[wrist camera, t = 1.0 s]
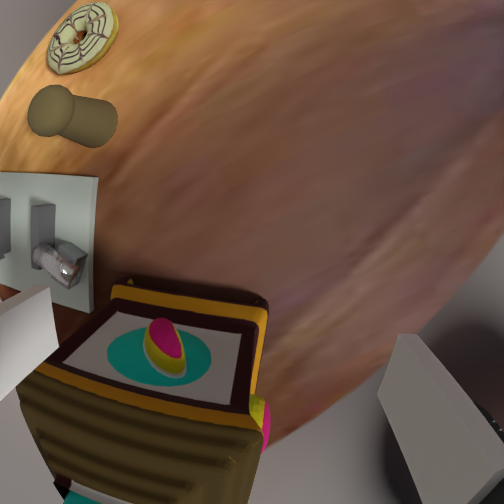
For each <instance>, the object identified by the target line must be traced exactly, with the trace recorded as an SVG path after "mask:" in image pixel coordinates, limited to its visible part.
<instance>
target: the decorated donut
mask: <svg viewBox="0 0 504 504" xmlns="http://www.w3.org/2000/svg"><path fill="white" fill-rule="evenodd" d="M118 28H119V23H118V17H117V15H116V12H115V11H114V10H113V9H112V8H111V7H110V6H108V5H107V4H106V3H103V2H94V3H90V4H86V5H82V6H80V7H79V8H78V9H76V10H75V11H74V12H72V13H71V14H70V15H68V16H67V18H66V19H65V20H64V21H63V22H62V23H61V24H60V26H59V27H58V28H57V30H56V32H55V33H54V35H53V37H52V39H51V42H50V44H49V48H48V56H47V58H48V63H49V66H50V67H51V68H52V69H53V70H54V71H56V72H57V73H58V74H63V73H64V74H70V73H75V72H79V71H82V70H84V69H87V68H89V67H91V66H93V65H94V64H96V63H97V62H99V61H100V60H101V58H102V57H104V56H105V54H106V53H107V52H108V51H109V49H110V48H111V46H112V44H113V43H114V41H115V39H116V37H117V34H118ZM85 33H87V34H86V36H85V38H84V39H83V40H82V41H80V42H79V43H78V41H79V40H80V38H81V37H82V36H83V35H84V34H85Z"/></svg>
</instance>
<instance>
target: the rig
mask: <svg viewBox="0 0 504 504" xmlns="http://www.w3.org/2000/svg"><path fill="white" fill-rule="evenodd" d="M98 178H99V177H87V176H74V175H58V174H40V173H18V172H0V255H3V254H4V256H5V258H4V259H2V260H0V283H1V284H3V285H6V286H9V287H11V288H14V289H17V290H19V291H24V290H26V289H27V288H29V287H31V286H33V285H35V284H40V285H44V286H48V287H50V294H51V302H54V303H57V304H60V305H63V306H67V307H70V308H73V309H76V310H80V311H83V312H86V313H91V312H92V311H93V310H94V299H93V246H94V224H95V209H96V197H97V187H98ZM42 242H45V243H47V244H48V245H49V246H51V247H52V248H54V249H55V250H56V251H58V247H59V246H61V245H64V244H67V243H70V242H72V243H73V244H74V245H76V246H77V247H79V248H80V249H82V250H83V251H85V252H86V253H88V257H87V260H86V263H85V266H84V269H83V272H82V276H81V279H80V282H79V284H78V285H76V286H74V287H73V288H71V289H69V290H67V289H66V288H64V287H63V286H62V285H60V284H59V283H58V282H56V281H55V280H54V279H52V278H51V275H50V274H49V273H48V272H46V271H45V270H44V269H43V268H41V267H40V266H39V265H37V264H36V263H35V262H34V261H33V253H34V251H35V249H36V247H37V246H38V245H39V244H40V243H42Z"/></svg>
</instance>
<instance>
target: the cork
mask: <svg viewBox="0 0 504 504" xmlns="http://www.w3.org/2000/svg"><path fill="white" fill-rule="evenodd" d="M27 119H28V123H29V126H30V128H31V129H32V131H33V132H35V133H36V134H38V135H39V136H44V137H51V136H54V135H57V134H58V135H61V136H63V137H65V138H68V139H70V140H72V141H74V142H77V143H79V144H81V145H84V146H86V147H89V148H97V147H101V146H102V145H104V144H105V143H107V142H108V141H109V139H110V138H111V137H112V136H113V134H114V132H115V130H116V126H117V123H118V115H117V112H116V109H115V107H114V106H113V105H112V104H111V103H109V102H107V101H104V100H99V99H93V98H88V97H82V96H76V95H72V93H71V92H70V91H69V90H68V89H67V88H65V87H63V86H61V85H49V86H47V87H45V88H43V89H41V90H40V91H39V92H38V93H37V94H36V95H35V96H34V98H33V99H32V101H31V103H30V106H29V109H28V118H27Z"/></svg>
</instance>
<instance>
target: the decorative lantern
mask: <svg viewBox="0 0 504 504" xmlns="http://www.w3.org/2000/svg"><path fill="white" fill-rule="evenodd" d="M268 315H269V306H268V302H267V301H266V299H263V298H259V299H258V300H257V301H256V303H244V302H236V301H229V300H223V299H216V298H209V297H203V296H196V295H190V294H184V293H178V292H172V291H166V290H160V289H154V288H149V287H143V286H138V285H133V281H132V279H131V278H129V277H124V278H121V279H120V280H118V281H117V282H115V284H114V285H113V288H112V292H111V299H110V303H109V304H108V305H107V306H106V307H105V308H104V309H102V310H101V311H100V312H99V313H98V314H96V315H95V316H94V317H93V318H91V319H90V320H89V321H88V322H87V323H85V324H84V325H83V326H82V327H81V328H79V329H78V330H77V331H76V332H75V333H73V334H72V335H71V336H70V337H69V338H68V339H66V340H65V341H64V342H63V343H62V344H61V345H59V348H57V349H56V350H55V351H54V352H53V353H52V354H51V355H50V356H48V357H47V358H46V359H45V360H44V361H43V362H42V363H41V364H39V365H38V366H37V367H36V368H35V369H34V370H33V371H32V372H31V373H30V374H28V375H27V376H26V377H25V378H24V379H23V380H22V381H21V382H20V383H19V384H18V385H17V386H16V391H17V393H18V396H19V399H20V407H21V411H22V413H23V416H24V418H25V421H26V423H27V425H28V428H29V430H30V432H31V434H32V437H33V439H34V441H35V443H36V445H37V447H38V449H39V451H40V453H41V455H42V457H43V459H44V461H45V463H46V465H47V466H48V468H49V470H50V472H51V474H52V475H53V477H54V479H55V481H54V483H53V484H54V485H55V487H56V489H57V490H58V492H59V493H60V495H61V496H62V498H63V499H64V503H63V504H247V503H248V499H249V496H250V492H251V489H252V485H253V481H254V477H255V474H256V470H257V467H258V463H259V459H260V455H261V454H262V452H263V451H264V449H265V447H266V445H267V442H268V437H269V433H270V420H271V419H270V410H269V406H268V404H267V402H266V401H265V400H264V399H263V398H262V397H261V396H258V395H255V391H256V386H257V380H258V374H259V369H260V363H261V357H262V351H263V345H264V340H265V334H266V328H267V322H268Z"/></svg>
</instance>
